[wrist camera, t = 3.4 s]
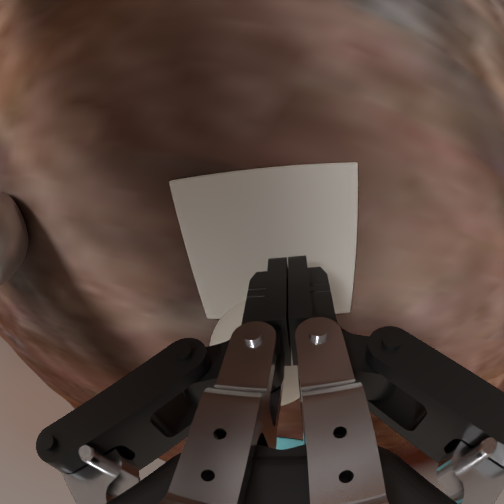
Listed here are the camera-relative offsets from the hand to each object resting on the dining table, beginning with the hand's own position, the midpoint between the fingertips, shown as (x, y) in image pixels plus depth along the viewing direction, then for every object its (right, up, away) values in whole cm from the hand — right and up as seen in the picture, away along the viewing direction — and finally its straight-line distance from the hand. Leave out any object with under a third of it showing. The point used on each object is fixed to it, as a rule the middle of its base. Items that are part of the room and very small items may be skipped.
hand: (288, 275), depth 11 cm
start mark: (-1, +1, +2) cm, 2 cm away
